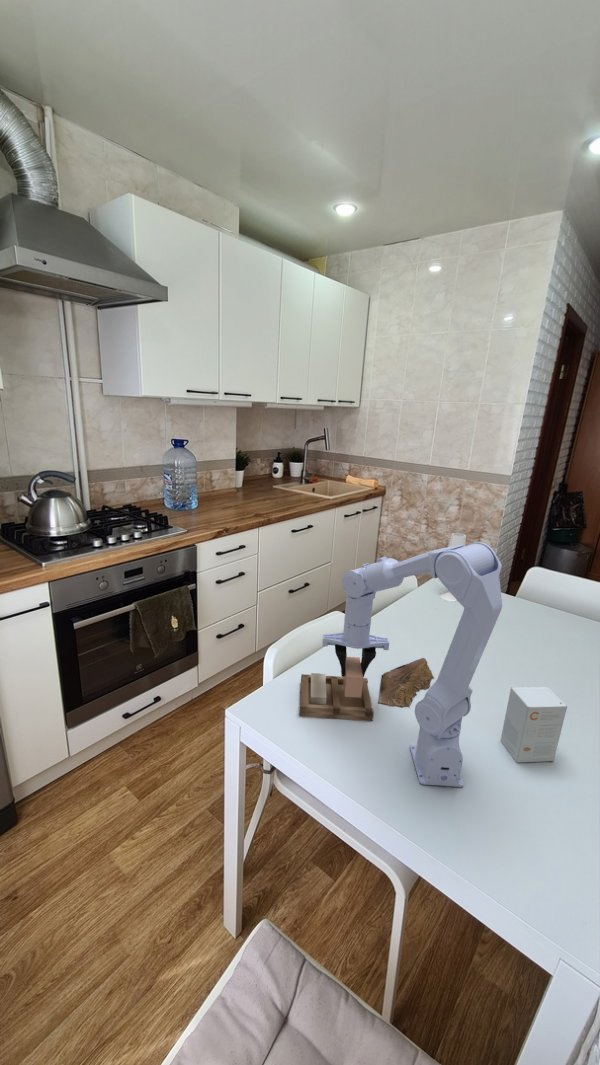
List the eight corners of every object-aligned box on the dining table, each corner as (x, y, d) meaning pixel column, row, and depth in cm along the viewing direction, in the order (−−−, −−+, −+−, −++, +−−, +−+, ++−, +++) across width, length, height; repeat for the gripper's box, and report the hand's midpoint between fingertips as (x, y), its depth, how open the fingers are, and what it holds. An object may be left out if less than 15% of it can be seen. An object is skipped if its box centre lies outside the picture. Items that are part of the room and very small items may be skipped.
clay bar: (361, 697, 98) (363, 677, 96) (344, 696, 98) (346, 676, 96) (357, 676, 105) (359, 657, 104) (342, 675, 105) (344, 656, 104)
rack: (366, 687, 109) (367, 672, 108) (372, 721, 97) (374, 705, 96) (300, 683, 109) (301, 668, 108) (299, 716, 98) (300, 700, 96)
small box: (535, 738, 95) (547, 685, 91) (554, 762, 89) (568, 706, 85) (498, 739, 94) (510, 686, 90) (515, 763, 88) (528, 707, 84)
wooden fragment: (401, 716, 100) (401, 712, 99) (359, 695, 106) (360, 691, 106) (447, 669, 119) (448, 666, 118) (410, 653, 125) (410, 650, 125)
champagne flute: (456, 594, 166) (466, 532, 159) (460, 602, 159) (471, 538, 153) (438, 593, 167) (447, 531, 160) (441, 600, 160) (450, 536, 153)
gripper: (388, 613, 101) (381, 666, 105) (323, 610, 101) (320, 662, 105) (393, 629, 94) (386, 684, 98) (324, 625, 94) (320, 680, 98)
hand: (352, 674), depth 101 cm, fingers closed on clay bar, 4 cm apart
